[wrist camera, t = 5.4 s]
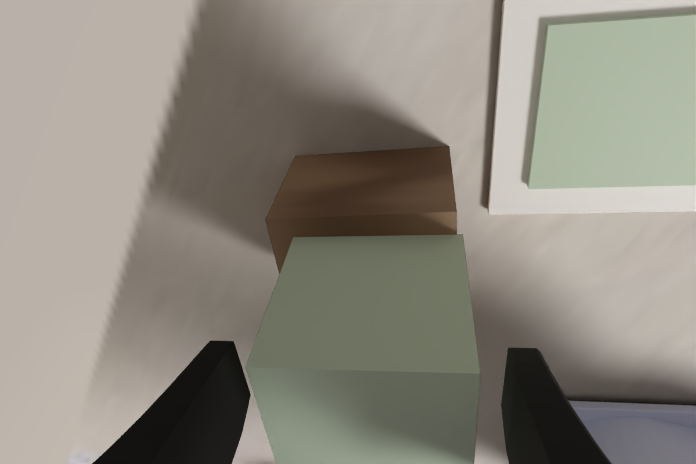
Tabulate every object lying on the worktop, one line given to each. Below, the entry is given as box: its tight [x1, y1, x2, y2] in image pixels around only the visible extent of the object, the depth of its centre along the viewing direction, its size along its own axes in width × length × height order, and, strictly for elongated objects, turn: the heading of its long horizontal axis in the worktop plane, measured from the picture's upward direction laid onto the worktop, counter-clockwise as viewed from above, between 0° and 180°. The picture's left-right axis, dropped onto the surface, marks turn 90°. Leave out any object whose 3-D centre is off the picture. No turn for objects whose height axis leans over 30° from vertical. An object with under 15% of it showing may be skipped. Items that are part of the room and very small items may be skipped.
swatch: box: [488, 0, 696, 215], centre depth 14 cm, size 7×7×1 cm
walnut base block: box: [265, 146, 457, 274], centre depth 16 cm, size 5×5×4 cm
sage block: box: [245, 234, 480, 464], centre depth 12 cm, size 4×4×4 cm
